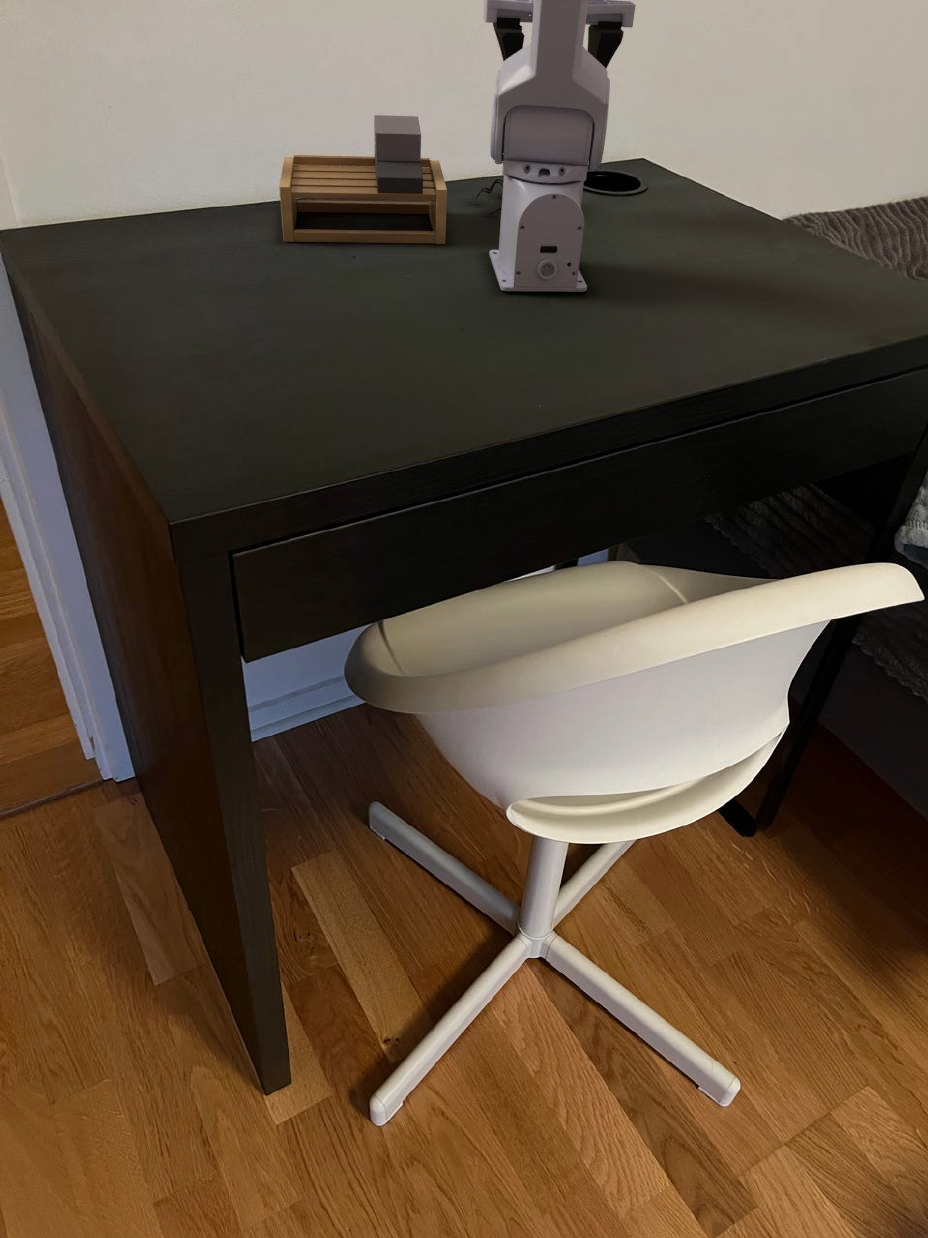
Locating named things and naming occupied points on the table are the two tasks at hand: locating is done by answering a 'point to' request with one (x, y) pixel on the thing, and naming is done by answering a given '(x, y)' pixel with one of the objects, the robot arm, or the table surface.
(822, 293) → the table surface
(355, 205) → the shoe rack
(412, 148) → the grey step block
